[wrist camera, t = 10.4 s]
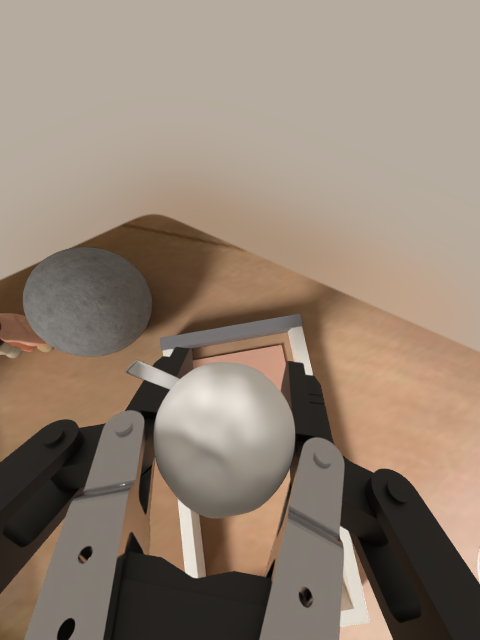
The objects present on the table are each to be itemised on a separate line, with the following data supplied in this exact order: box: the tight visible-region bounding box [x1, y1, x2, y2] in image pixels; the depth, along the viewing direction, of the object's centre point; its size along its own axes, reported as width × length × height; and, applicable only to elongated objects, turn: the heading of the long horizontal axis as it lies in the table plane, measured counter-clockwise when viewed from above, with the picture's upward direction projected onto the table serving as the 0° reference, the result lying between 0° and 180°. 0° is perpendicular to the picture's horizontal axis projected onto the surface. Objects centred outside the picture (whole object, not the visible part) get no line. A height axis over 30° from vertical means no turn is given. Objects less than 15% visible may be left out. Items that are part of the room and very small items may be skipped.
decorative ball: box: [23, 247, 152, 357], centre depth 22 cm, size 10×10×10 cm
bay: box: [160, 314, 370, 627], centre depth 22 cm, size 14×25×3 cm, turn 10°
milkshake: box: [125, 360, 295, 518], centre depth 11 cm, size 4×5×10 cm
